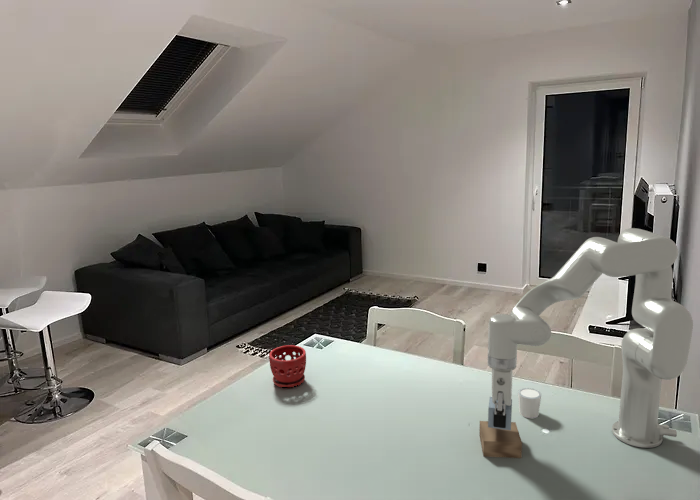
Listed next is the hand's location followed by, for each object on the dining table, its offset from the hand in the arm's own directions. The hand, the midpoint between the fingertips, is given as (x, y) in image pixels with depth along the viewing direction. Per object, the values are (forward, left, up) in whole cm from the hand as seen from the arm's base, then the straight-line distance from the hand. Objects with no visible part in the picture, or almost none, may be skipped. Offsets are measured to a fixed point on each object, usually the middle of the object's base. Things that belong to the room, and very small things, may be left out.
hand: (499, 419), depth 143 cm
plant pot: (+74, -21, -8) cm, 77 cm away
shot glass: (-8, -20, -8) cm, 23 cm away
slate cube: (0, 0, -1) cm, 1 cm away
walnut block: (0, 0, -9) cm, 9 cm away
